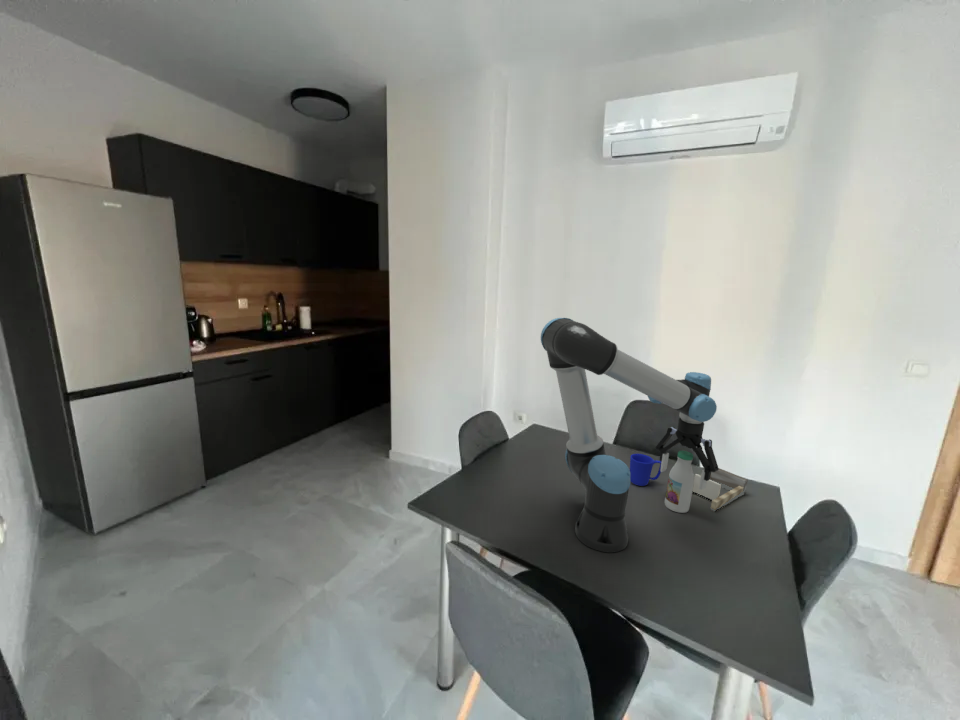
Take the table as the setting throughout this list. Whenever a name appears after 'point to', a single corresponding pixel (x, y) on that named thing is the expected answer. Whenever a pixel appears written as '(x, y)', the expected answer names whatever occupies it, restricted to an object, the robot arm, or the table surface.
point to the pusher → (707, 488)
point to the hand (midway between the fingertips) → (681, 479)
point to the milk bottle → (680, 484)
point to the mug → (642, 469)
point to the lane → (729, 480)
